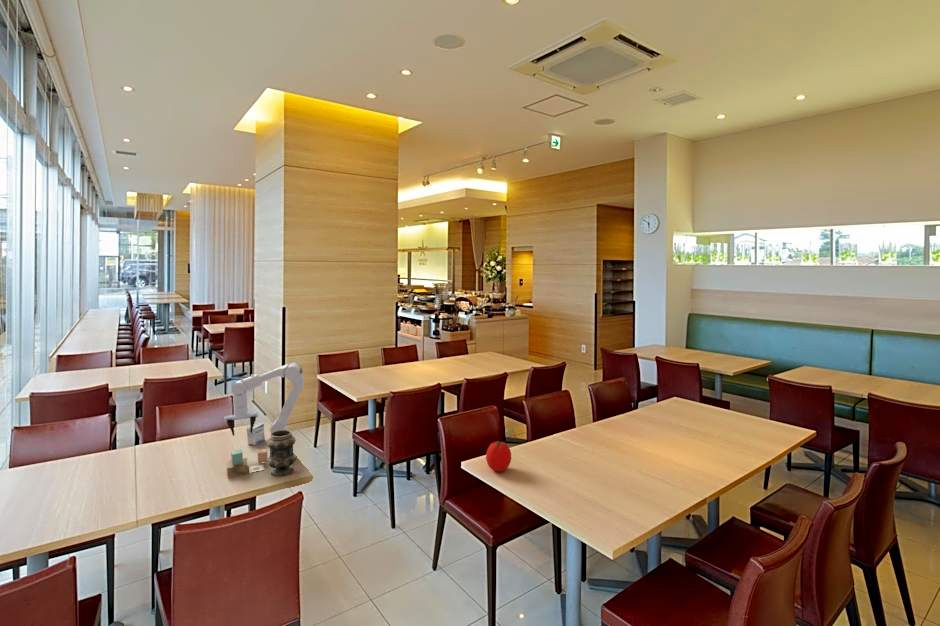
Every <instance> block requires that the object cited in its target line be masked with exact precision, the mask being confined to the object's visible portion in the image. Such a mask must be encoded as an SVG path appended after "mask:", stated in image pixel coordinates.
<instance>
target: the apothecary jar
mask: <svg viewBox="0 0 940 626" xmlns="http://www.w3.org/2000/svg"><path fill="white" fill-rule="evenodd" d="M295 443H296V437H295V436H294V435H293V434H292V431H291V430H289V429H285V430H277V431H274V432H272V433H270V436H269V438H268V439H267V441H266V446H267V447H268V448H269V456H268V457H267V458H268V459H267V462H266V463H267V466H268V467H270V468H272V470H271V471H270V474H269V475H270V476H272V477H275V478H281V477H287V476H290V475H291V474H293V473H294V472H295V468H294V467H293V465H294V464H295V463H296V461H297V456H296V454H295V453H294V445H295Z"/></svg>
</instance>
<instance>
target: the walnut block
mask: <svg viewBox="0 0 940 626" xmlns="http://www.w3.org/2000/svg"><path fill="white" fill-rule="evenodd" d="M226 463H227V464H226V472H227V473H226V477H227V476H231V477H235V476H234V475H236V476H241V475H240V474H242V475H247V474H246V473H248V474H249V466H248V458H247V457H245V458H244V457H243V463H242V464H238V465H233V464H232V461H231V460H227V462H226Z"/></svg>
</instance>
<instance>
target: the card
mask: <svg viewBox="0 0 940 626" xmlns="http://www.w3.org/2000/svg"><path fill="white" fill-rule="evenodd" d="M259 466H261V468H260V467H259ZM262 466H263V467H264V464H260V465H259V464H258V465H253V466H248V474H252V472H254V473H257V472H256V471H260V472H263V471H262V470H264V471H265V468H263V467H262ZM253 467H254V468H253Z"/></svg>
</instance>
